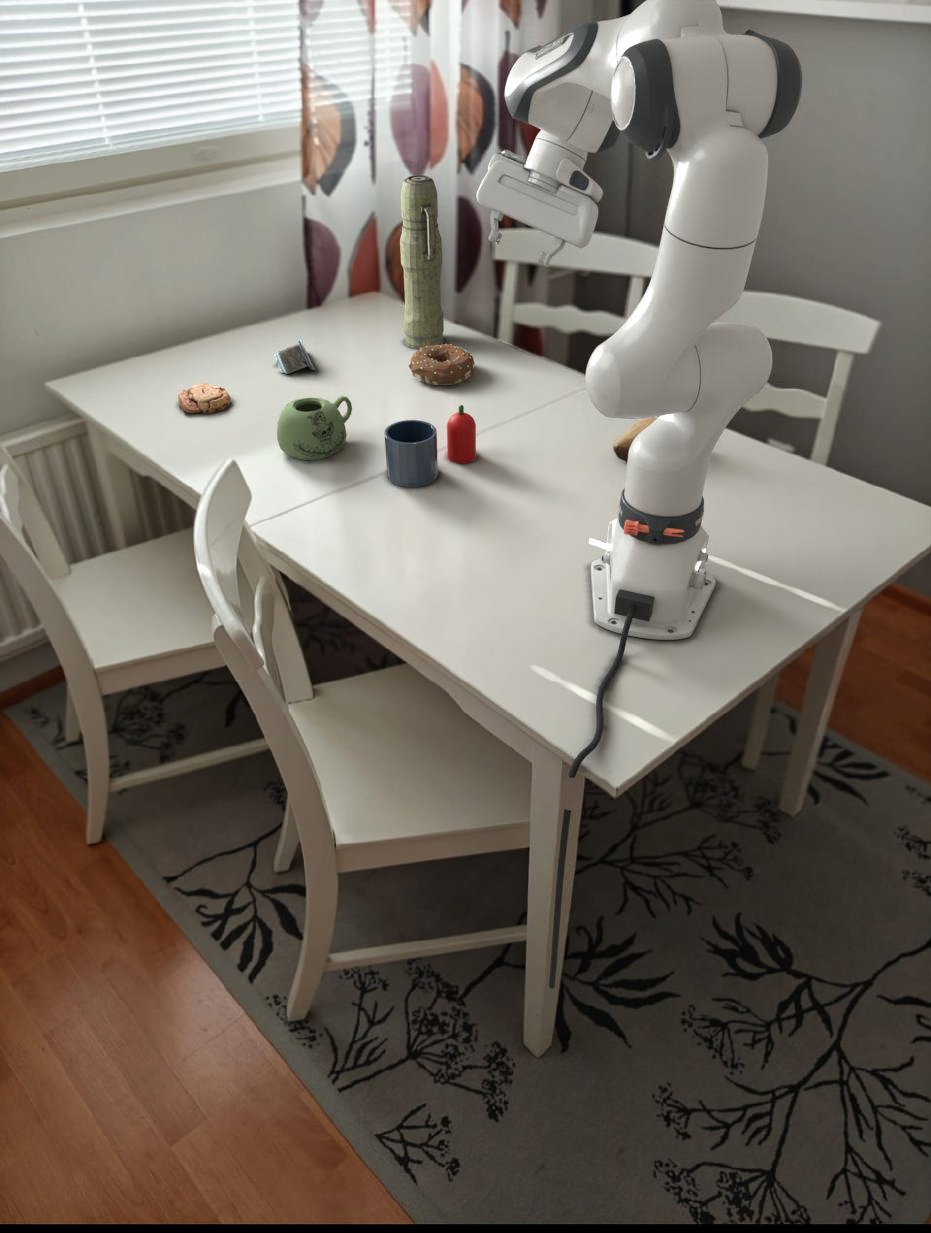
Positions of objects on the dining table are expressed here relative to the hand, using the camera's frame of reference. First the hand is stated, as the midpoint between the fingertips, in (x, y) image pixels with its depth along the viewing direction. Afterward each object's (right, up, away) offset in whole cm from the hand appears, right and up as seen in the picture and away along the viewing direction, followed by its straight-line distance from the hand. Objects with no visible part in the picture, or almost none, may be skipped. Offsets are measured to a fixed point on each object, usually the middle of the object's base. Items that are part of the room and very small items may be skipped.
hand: (517, 253), depth 164 cm
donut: (-14, -9, +46) cm, 49 cm away
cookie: (-61, -17, +37) cm, 74 cm away
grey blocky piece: (-46, -6, +52) cm, 69 cm away
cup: (-18, -35, +13) cm, 41 cm away
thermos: (-18, +2, +61) cm, 64 cm away
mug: (-36, -28, +23) cm, 51 cm away
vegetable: (+26, -31, +18) cm, 44 cm away
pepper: (-9, -31, +18) cm, 37 cm away
